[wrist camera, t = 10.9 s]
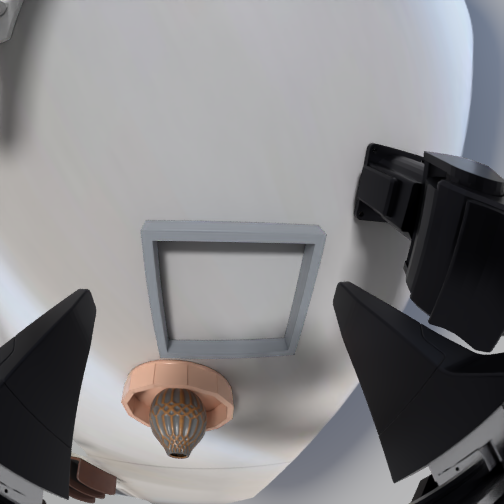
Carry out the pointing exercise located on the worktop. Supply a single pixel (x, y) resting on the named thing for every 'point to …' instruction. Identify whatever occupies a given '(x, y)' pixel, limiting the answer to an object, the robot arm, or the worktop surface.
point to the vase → (178, 421)
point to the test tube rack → (8, 17)
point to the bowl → (178, 376)
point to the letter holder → (89, 481)
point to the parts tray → (231, 233)
